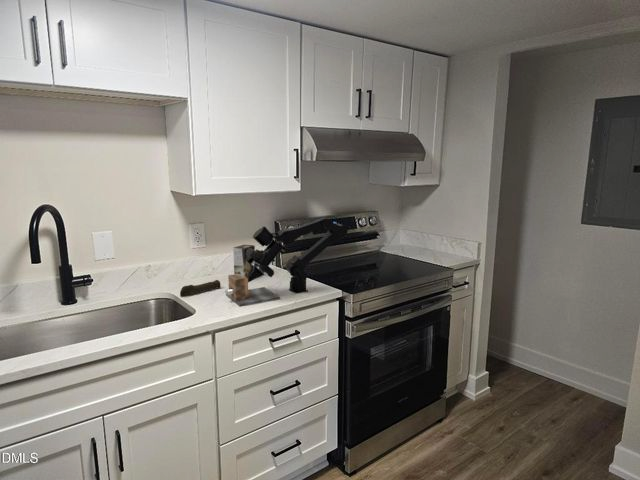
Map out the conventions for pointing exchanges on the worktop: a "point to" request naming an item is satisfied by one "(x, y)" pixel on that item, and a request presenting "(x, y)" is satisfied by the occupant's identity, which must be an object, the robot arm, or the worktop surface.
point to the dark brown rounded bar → (199, 288)
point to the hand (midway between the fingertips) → (246, 281)
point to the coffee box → (241, 260)
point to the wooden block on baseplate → (254, 294)
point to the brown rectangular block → (245, 288)
